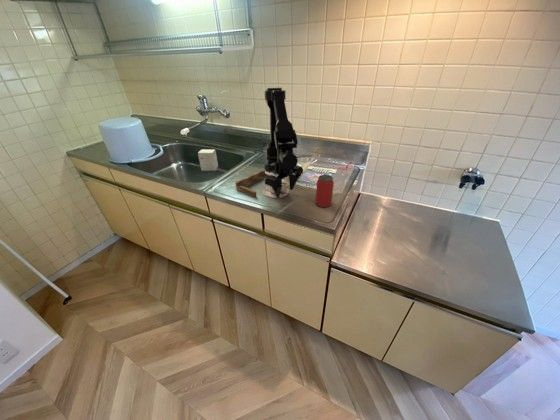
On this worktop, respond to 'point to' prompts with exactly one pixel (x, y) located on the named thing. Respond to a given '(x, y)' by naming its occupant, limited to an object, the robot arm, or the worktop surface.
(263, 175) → the open wooden frame
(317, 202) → the beer can
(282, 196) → the teacup
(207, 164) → the small box
